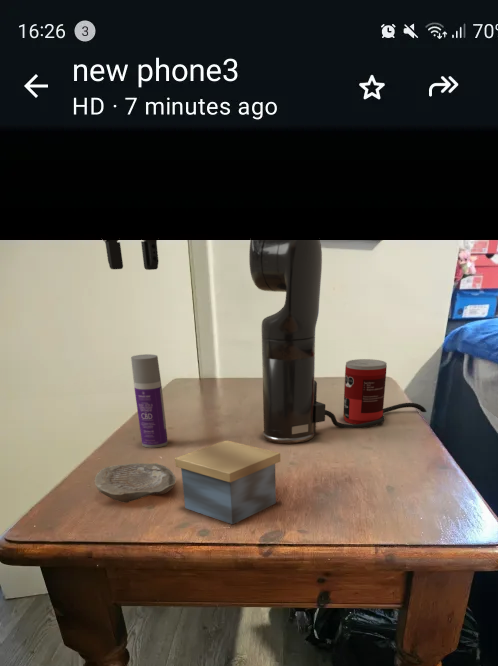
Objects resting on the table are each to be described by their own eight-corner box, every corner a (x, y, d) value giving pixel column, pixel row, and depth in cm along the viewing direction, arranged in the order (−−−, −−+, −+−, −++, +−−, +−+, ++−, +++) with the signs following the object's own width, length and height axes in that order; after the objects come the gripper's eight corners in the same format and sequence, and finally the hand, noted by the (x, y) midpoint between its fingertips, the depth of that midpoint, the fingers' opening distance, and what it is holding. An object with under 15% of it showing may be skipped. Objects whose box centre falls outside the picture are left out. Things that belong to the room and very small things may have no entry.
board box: (229, 487, 87) (226, 439, 83) (281, 503, 82) (280, 452, 78) (179, 508, 81) (174, 457, 77) (232, 527, 75) (229, 473, 71)
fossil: (182, 505, 83) (181, 487, 82) (99, 513, 80) (97, 495, 79) (170, 476, 91) (169, 459, 90) (94, 482, 88) (91, 464, 87)
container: (143, 449, 104) (131, 359, 96) (141, 441, 108) (129, 355, 100) (169, 446, 105) (159, 357, 97) (166, 439, 109) (156, 353, 101)
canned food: (350, 413, 122) (353, 358, 116) (387, 417, 119) (392, 360, 113) (337, 422, 116) (339, 364, 111) (375, 427, 113) (380, 367, 108)
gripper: (170, 136, 82) (182, 268, 90) (107, 146, 90) (123, 267, 98) (128, 130, 77) (144, 271, 85) (65, 142, 85) (86, 270, 93)
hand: (133, 269), depth 92 cm, fingers open, 8 cm apart
